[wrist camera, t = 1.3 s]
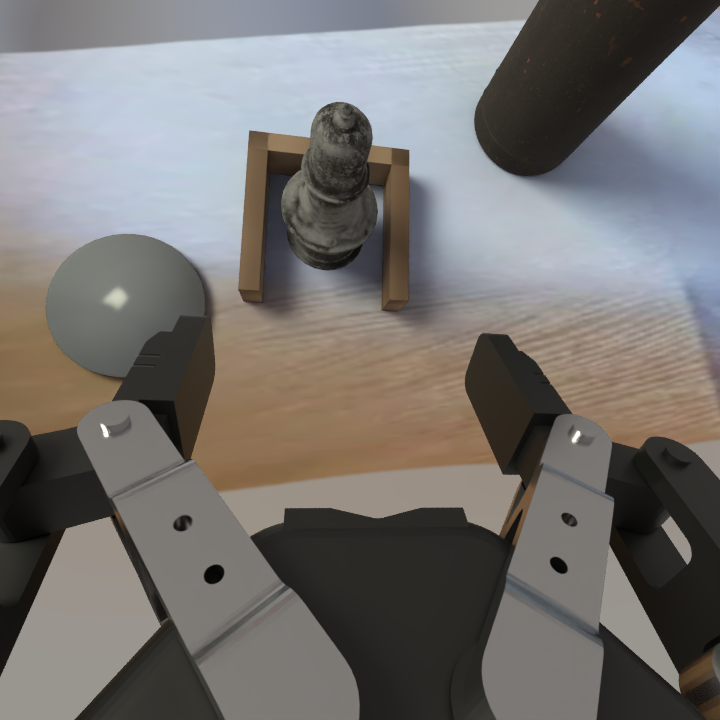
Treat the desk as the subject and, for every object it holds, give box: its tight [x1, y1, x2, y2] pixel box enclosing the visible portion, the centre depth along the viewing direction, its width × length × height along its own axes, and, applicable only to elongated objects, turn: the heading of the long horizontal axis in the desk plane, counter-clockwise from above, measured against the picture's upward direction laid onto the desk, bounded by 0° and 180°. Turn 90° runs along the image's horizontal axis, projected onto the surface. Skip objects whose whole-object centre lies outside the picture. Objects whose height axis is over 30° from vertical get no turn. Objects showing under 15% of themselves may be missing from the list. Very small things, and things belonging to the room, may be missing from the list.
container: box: [474, 0, 720, 175], centre depth 23 cm, size 9×9×20 cm
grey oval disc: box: [46, 234, 206, 378], centre depth 26 cm, size 9×9×1 cm
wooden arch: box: [238, 131, 409, 311], centre depth 28 cm, size 10×10×2 cm
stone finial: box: [281, 102, 378, 270], centre depth 23 cm, size 6×6×12 cm
